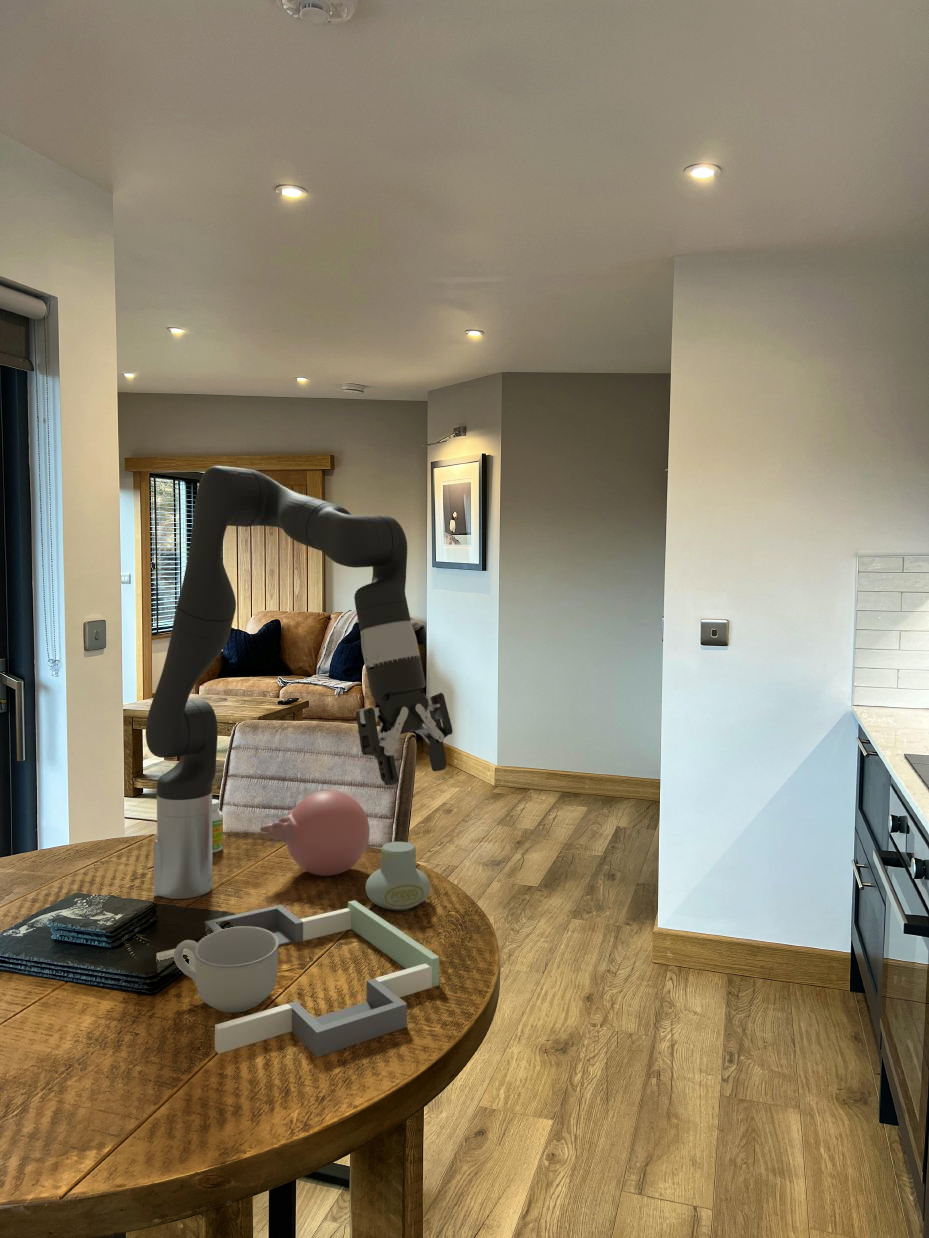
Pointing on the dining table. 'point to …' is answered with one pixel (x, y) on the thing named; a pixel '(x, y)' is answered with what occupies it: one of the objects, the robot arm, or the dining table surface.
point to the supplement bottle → (217, 827)
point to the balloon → (324, 832)
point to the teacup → (232, 967)
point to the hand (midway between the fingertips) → (416, 777)
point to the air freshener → (398, 879)
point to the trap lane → (346, 1024)
